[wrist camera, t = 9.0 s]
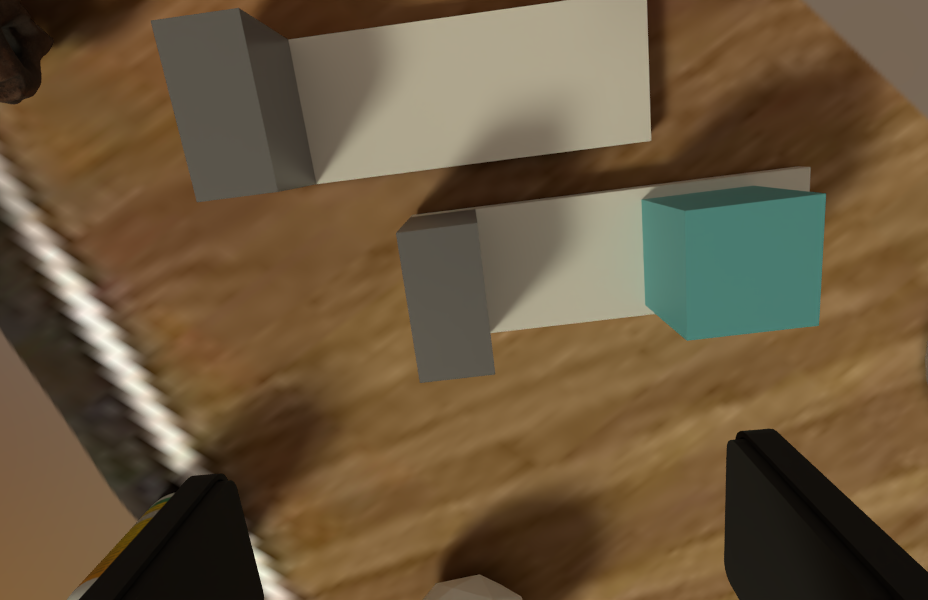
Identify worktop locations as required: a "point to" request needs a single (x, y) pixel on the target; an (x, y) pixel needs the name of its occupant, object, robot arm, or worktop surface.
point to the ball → (471, 590)
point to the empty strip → (401, 93)
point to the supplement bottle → (118, 549)
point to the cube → (734, 260)
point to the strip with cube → (533, 266)
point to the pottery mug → (20, 52)
